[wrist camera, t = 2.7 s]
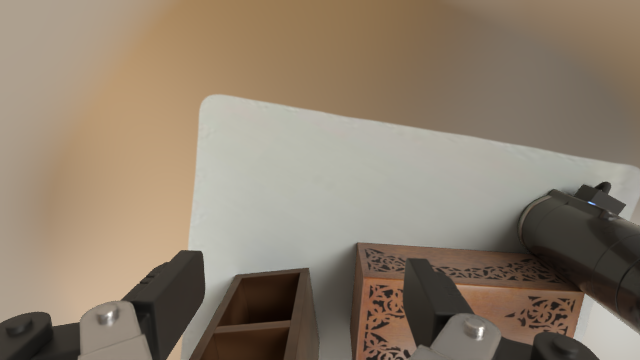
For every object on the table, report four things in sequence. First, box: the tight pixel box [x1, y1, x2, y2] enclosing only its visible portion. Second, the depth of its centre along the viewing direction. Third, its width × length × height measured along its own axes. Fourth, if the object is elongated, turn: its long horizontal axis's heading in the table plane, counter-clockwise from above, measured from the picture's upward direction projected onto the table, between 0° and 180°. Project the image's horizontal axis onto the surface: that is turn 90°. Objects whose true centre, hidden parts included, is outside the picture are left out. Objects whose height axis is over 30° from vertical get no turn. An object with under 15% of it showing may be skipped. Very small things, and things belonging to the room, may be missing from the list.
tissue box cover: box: [350, 243, 585, 360], centre depth 46 cm, size 26×14×10 cm, turn 87°
